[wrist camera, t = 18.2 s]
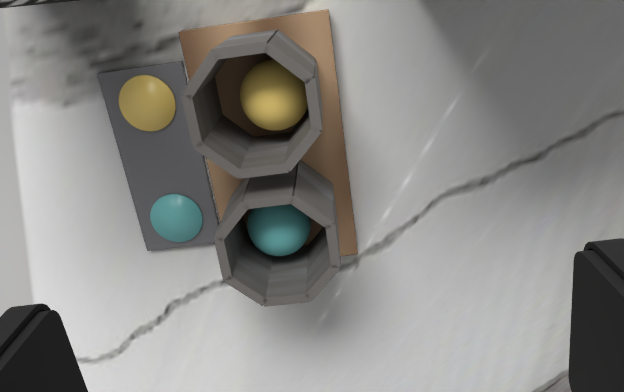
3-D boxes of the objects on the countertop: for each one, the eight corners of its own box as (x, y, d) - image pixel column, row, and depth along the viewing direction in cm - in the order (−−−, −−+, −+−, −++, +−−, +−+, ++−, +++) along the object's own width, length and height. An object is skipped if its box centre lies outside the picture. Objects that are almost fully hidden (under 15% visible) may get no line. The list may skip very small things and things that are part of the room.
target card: (182, 61, 38) (180, 62, 37) (222, 239, 43) (220, 243, 42) (99, 72, 38) (96, 74, 38) (148, 248, 43) (146, 251, 43)
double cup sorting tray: (328, 9, 36) (329, 18, 29) (357, 246, 43) (364, 304, 35) (182, 30, 37) (146, 44, 29) (233, 261, 44) (214, 321, 36)
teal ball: (310, 180, 39) (300, 209, 35) (318, 233, 41) (310, 267, 37) (250, 184, 40) (234, 213, 36) (261, 236, 42) (247, 269, 38)
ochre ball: (288, 51, 37) (315, 56, 33) (298, 115, 39) (325, 127, 35) (225, 64, 36) (246, 70, 32) (238, 130, 37) (259, 144, 33)
